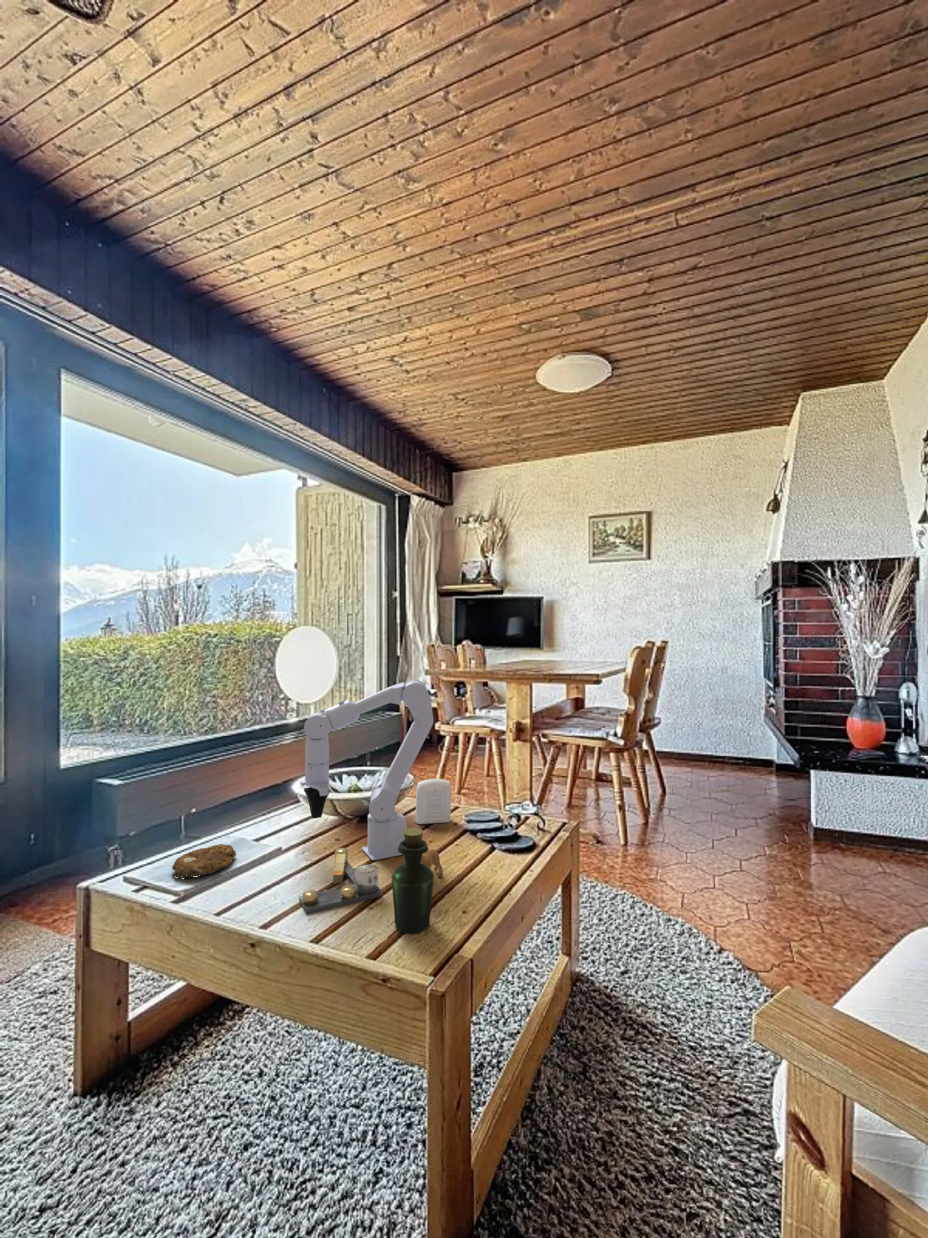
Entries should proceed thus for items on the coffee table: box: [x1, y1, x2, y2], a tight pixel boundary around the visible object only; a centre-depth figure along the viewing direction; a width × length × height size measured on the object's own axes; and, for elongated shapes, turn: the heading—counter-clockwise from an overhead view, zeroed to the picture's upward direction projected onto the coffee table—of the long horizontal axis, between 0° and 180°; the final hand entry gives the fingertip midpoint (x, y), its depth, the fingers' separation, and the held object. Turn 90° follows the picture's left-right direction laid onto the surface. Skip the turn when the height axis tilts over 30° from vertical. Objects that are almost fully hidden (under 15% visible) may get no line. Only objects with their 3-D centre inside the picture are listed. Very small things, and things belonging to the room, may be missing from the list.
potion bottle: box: [391, 827, 435, 935], centre depth 111 cm, size 8×8×18 cm
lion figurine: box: [420, 848, 444, 878], centre depth 128 cm, size 15×5×9 cm, turn 166°
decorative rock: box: [172, 843, 238, 879], centre depth 136 cm, size 11×4×15 cm
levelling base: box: [298, 861, 383, 915], centre depth 126 cm, size 16×18×6 cm
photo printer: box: [415, 778, 452, 825], centre depth 167 cm, size 10×4×12 cm, turn 104°
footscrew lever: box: [332, 847, 349, 885], centre depth 132 cm, size 14×3×3 cm, turn 9°
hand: (316, 817), depth 143 cm, fingers closed
